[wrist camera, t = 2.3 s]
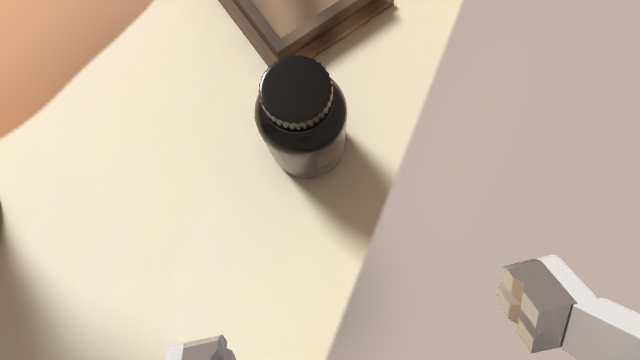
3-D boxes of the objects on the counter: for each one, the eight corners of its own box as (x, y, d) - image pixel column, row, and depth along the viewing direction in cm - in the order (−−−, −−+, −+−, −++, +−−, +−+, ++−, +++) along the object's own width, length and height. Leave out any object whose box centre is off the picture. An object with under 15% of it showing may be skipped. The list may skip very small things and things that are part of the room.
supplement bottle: (335, 103, 37) (338, 30, 25) (351, 171, 35) (362, 127, 24) (265, 117, 37) (235, 51, 25) (278, 186, 35) (252, 150, 24)
